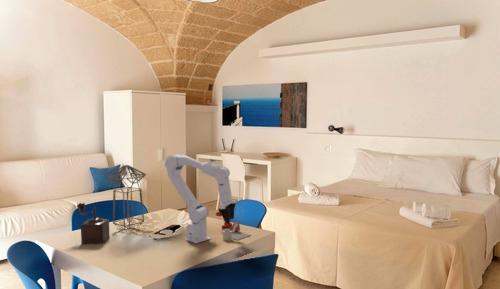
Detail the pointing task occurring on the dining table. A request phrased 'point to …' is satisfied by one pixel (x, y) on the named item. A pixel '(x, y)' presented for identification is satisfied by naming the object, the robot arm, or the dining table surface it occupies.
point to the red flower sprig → (229, 224)
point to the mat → (239, 235)
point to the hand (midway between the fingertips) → (229, 220)
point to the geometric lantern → (127, 192)
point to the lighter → (228, 233)
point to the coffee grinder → (93, 228)
